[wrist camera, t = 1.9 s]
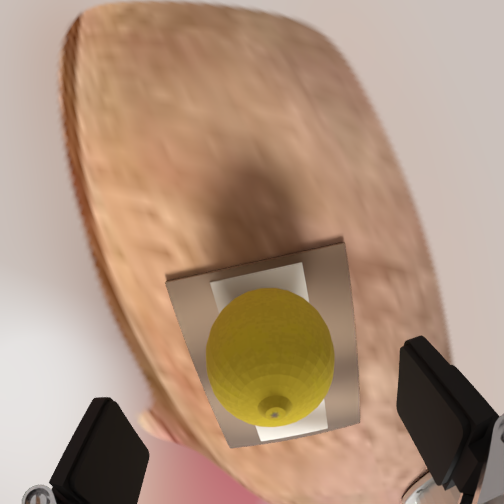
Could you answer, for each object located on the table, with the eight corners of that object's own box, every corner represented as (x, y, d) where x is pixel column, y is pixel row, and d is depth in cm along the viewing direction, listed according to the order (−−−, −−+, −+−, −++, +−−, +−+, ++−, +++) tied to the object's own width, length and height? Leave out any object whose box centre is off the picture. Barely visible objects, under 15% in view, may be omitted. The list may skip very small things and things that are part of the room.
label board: (359, 420, 20) (360, 423, 19) (230, 445, 20) (230, 449, 20) (343, 241, 16) (345, 243, 16) (166, 280, 17) (164, 283, 16)
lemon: (243, 249, 16) (237, 318, 8) (333, 294, 17) (388, 380, 9) (200, 332, 17) (169, 433, 9) (283, 368, 18) (299, 472, 10)
